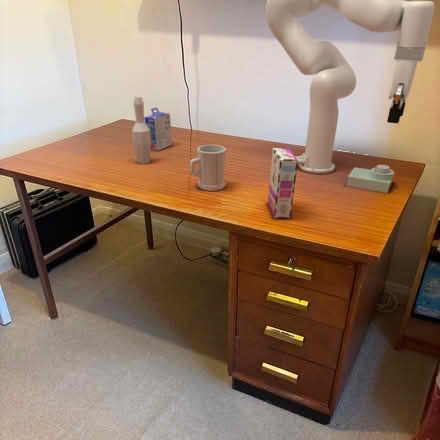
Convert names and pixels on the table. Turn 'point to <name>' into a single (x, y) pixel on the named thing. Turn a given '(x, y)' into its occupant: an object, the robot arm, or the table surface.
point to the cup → (210, 167)
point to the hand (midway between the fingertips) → (394, 119)
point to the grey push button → (382, 169)
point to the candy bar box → (282, 182)
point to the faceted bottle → (141, 133)
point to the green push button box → (370, 179)
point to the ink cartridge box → (159, 129)
